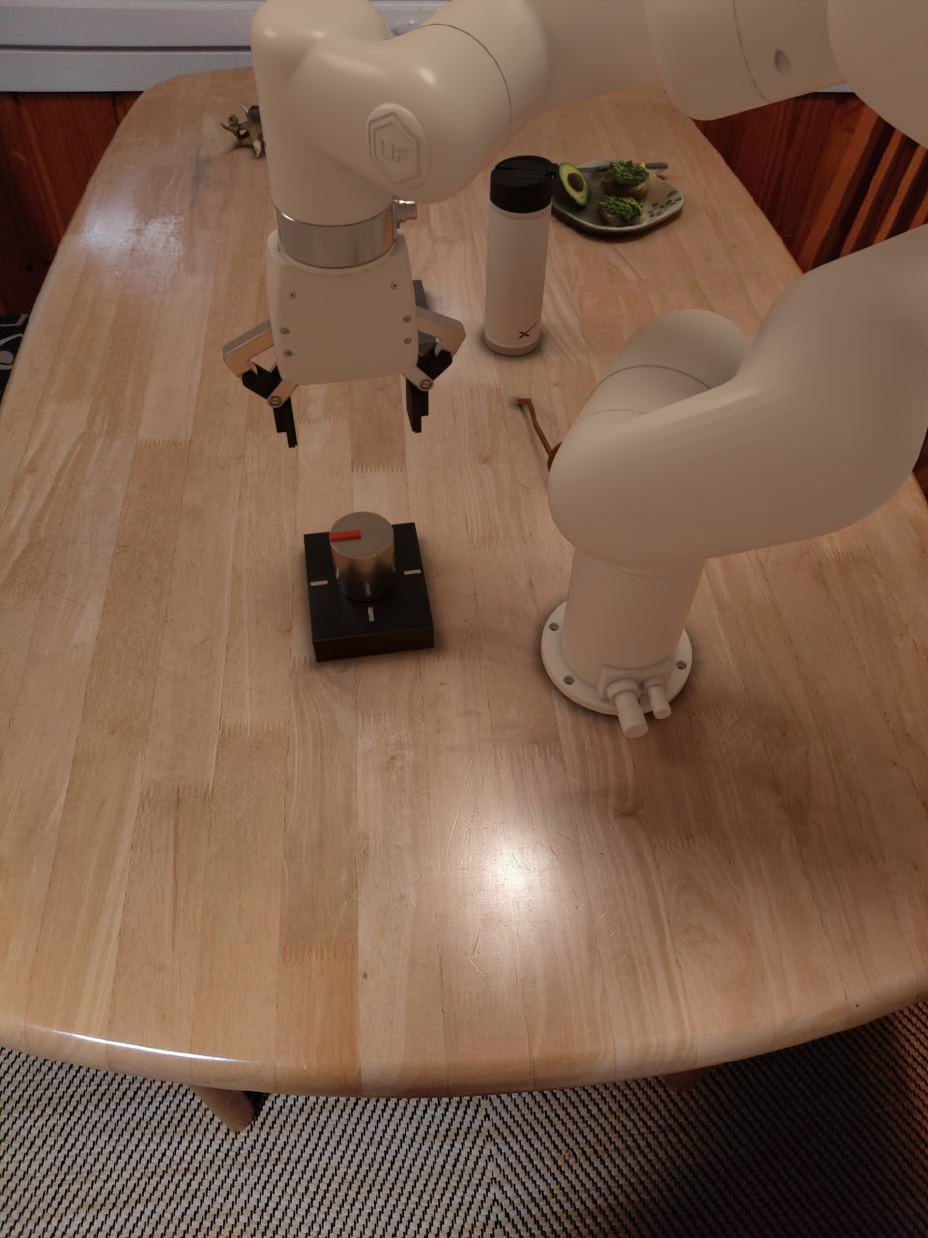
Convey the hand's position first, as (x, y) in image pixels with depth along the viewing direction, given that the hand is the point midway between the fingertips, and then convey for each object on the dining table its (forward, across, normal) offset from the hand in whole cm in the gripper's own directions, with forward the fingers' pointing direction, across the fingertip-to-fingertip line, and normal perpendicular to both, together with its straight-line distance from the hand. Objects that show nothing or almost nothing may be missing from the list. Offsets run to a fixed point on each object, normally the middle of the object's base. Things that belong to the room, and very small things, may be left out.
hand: (353, 428), depth 73 cm
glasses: (+15, -25, -12) cm, 32 cm away
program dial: (+12, 0, +5) cm, 13 cm away
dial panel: (+15, 0, +5) cm, 16 cm away
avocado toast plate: (+16, -40, -56) cm, 70 cm away
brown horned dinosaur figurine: (+16, +3, -78) cm, 80 cm away
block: (+16, -7, -34) cm, 38 cm away
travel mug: (+16, -21, -29) cm, 39 cm away
